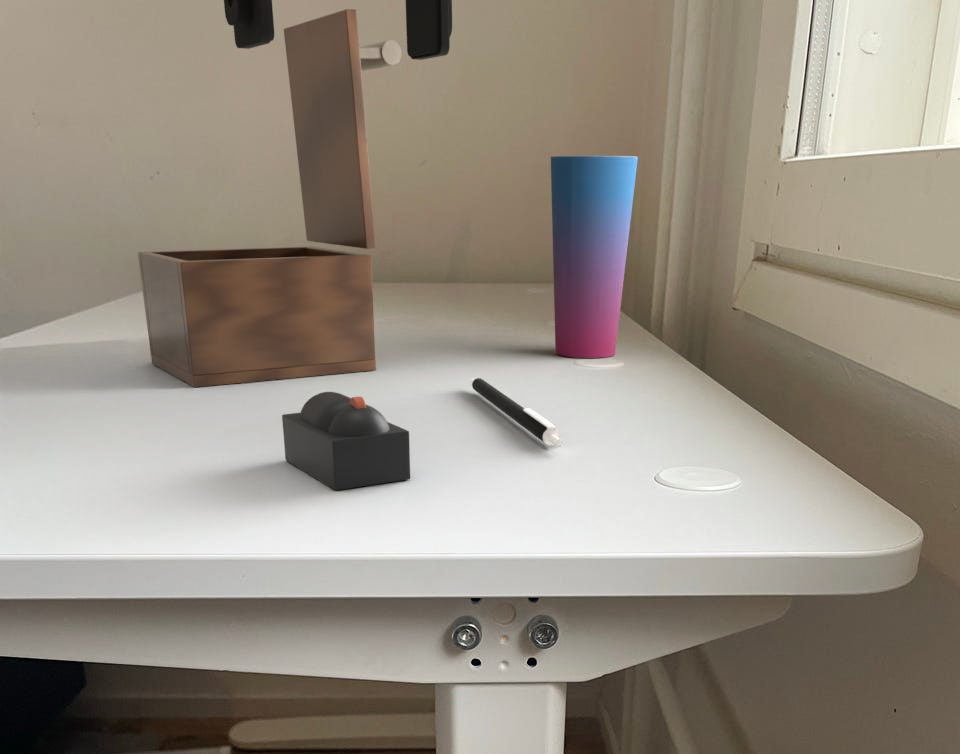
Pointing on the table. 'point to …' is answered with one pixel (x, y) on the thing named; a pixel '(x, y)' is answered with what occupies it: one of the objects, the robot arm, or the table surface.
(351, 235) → the lid
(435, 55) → the robot arm
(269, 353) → the chest
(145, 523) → the table surface
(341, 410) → the domed black block
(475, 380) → the pen
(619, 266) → the cup
